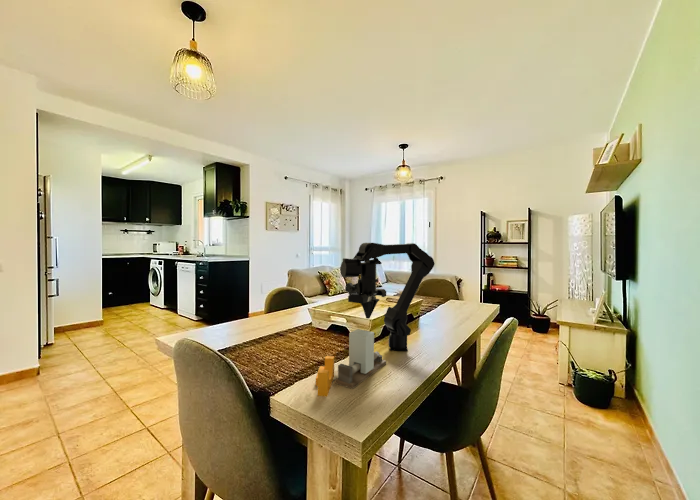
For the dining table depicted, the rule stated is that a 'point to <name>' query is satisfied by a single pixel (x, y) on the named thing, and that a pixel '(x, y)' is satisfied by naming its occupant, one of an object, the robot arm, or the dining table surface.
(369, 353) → the sleeve
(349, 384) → the pipe rig
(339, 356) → the dining table surface
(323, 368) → the pipe clamp
